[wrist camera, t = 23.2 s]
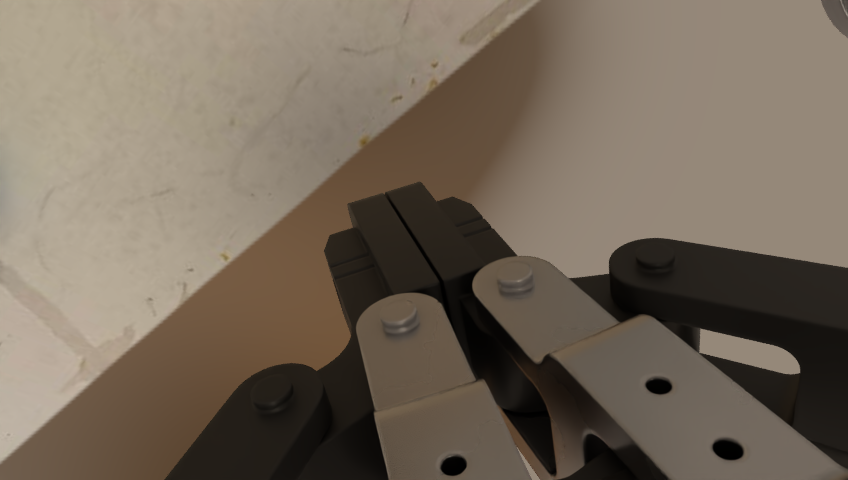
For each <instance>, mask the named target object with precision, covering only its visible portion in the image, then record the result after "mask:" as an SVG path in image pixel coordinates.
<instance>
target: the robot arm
mask: <svg viewBox="0 0 848 480" xmlns="http://www.w3.org/2000/svg"><path fill="white" fill-rule="evenodd" d="M348 210H349V214H350V218H351V222H352V225H353V228H351V229H348V230H345V231H341V232H338V233H335V234H332V235H330V236H329V239H328V242H327V244H326V247H325V250H324V252H325V256H326V259H327V262H328V265H329V269H330V272H331V275H332V278H333V282H334V285H335V288H336V291H337V295H338V298H339V301H340V304H341V308H342V311H343V314H344V317H345V319H346V322H347V325H348V327H349V330H350V333H351V338H350V341H349V343H348V345H347V346H346V348H345V349H344V350H343V351H342V353H341V354H340V355H339V356H338V357H337V358H335V359H334V360H333V361H332V362H330V363H329V364H328V365H326V366H324V367H323V368H321V369H319V370H318V371H316V370H314V369H313V368H311V367H309V366H306V365H303V364H295V363H294V364H293V363H290V364H281V365H276V366H272V367H269V368H267V369H264V370H262V371H260V372H258V373H256V374H254V375H252V376H251V377H250V378H248V379H247V380H245V381H244V382H243V383H242V384H241V385H240V386H239V387H238V388H237V389H236V390H235V391H234V392H233V394H232V395H231V396H230V397H229V399H228V400H227V401H226V403H225V404H224V405H223V406H222V407H221V409H220V410H219V411H218V412H217V414H216V415H215V416H214V418H213V419H212V420H211V421H210V423H209V424H208V425H207V426H206V428H205V429H204V430H203V431H202V433H201V434H200V435H199V437H198V438H197V439H196V441H195V442H194V443H193V444H192V445H191V447H190V448H189V449H188V451H187V452H186V453H185V454H184V456H183V457H182V458H181V459H180V461H179V462H178V464H177V465H176V466H175V467H174V468H173V470H172V471H171V472H170V473H169V475H168V476H167V477H166V479H165V480H532V479H531V477H530V475H529V473H528V470H527V468H526V466H525V464H524V462H523V460H522V458H521V456H520V454H519V451H518V449H519V450H520V452H521V453H522V454H523V456H524V457H525V459H526V460H527V461H528V463H529V464H530V466H531V467H532V469H534V471H535V473H536V474H537V476H538V477H539V478H540V480H848V268H845V267H838V266H832V265H826V264H819V263H813V262H808V261H801V260H795V259H789V258H783V257H777V256H770V255H763V254H757V253H752V252H745V251H739V250H733V249H727V248H721V247H715V246H708V245H702V244H695V243H690V242H684V241H677V240H671V239H663V238H649V239H641V240H636V241H632V242H630V243H627V244H624V245H623V246H621V247H619V248H618V249H617V250H615V251H614V253H613V254H612V255H611V257H610V260H609V274H604V275H596V276H588V277H580V278H567V277H566V276H565V275H564V274H563V273H562V272H560V271H559V270H558V269H557V268H556V267H555V266H553V265H552V264H551V263H549V262H547V261H545V260H543V259H540V258H536V257H531V256H517V255H516V254H515V252H514V251H513V250H512V249H511V248H510V247H509V246H508V245H507V244H506V242H505V241H504V240H503V239H502V238H501V237H500V236H499V235H498V233H497V232H496V231H495V230H494V229H492V228H491V226H490V224H489V223H488V222H487V221H486V220H485V219H483V217H482V215H481V214H480V213H479V212H478V211H477V210H476V209H475V208H474V206H472V204H470V203H467V202H465V201H462V200H460V199H457V198H454V197H450V198H447V199H444V200H440V201H437V202H436V200H435V199H434V198H433V197H432V195H431V194H430V193H429V192H428V190H427V189H426V188H425V186H424V185H423V184H422V183H421V182H417V183H414V184H411V185H408V186H404V187H401V188H398V189H394V190H391V191H388V192H385V195H384V194H383V193H381V194H378V195H375V196H371V197H368V198H365V199H362V200H359V201H355V202H352V203H349V204H348ZM700 328H701V329H705V330H710V331H714V332H718V333H722V334H727V335H731V336H736V337H740V338H744V339H749V340H753V341H757V342H762V343H766V344H770V345H774V346H778V347H780V348H783V349H785V350H786V351H788V352H789V353H791V354H792V355H793V356H794V357H795V358H796V360H797V361H798V363H799V365H800V373H799V374H792V375H790V374H783V373H778V372H774V371H770V370H766V369H762V368H758V367H754V366H750V365H746V364H742V363H738V362H734V361H730V360H726V359H722V358H718V357H714V356H710V355H706V354H702V353H699V345H700ZM516 446H517V447H518V449H517V447H516Z"/></svg>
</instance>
